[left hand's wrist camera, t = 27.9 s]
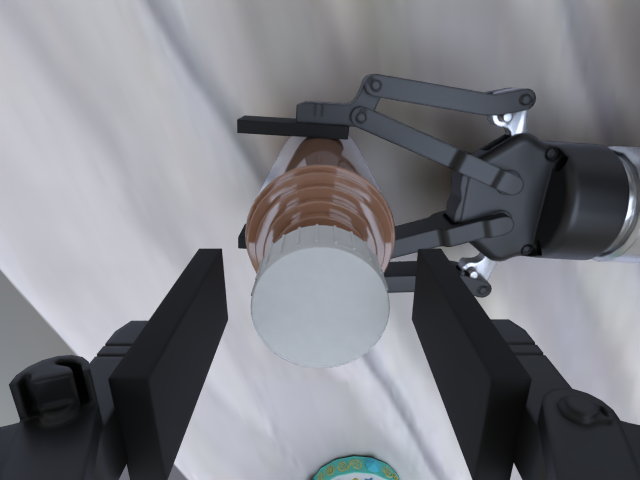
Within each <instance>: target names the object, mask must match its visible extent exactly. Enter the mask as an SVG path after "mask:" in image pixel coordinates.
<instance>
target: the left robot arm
mask: <svg viewBox="0 0 640 480" xmlns="http://www.w3.org/2000/svg"><path fill="white" fill-rule="evenodd" d="M227 321H228V312H227V301H226V290H225V279H224V268H223V257H222V249H199V250H198V251H197V253H196V254H195V255H194V257H193V258H192V260H191V261H190V263H189V264H188V265H187V267H186V268H185V270H184V271H183V273H182V274H181V275H180V277H179V278H178V280H177V281H176V283H175V284H174V285H173V287H172V288H171V290H170V291H169V293H168V294H167V295H166V297H165V298H164V300H163V301H162V303H161V304H160V305H159V307H158V308H157V310H156V311H155V313H154V314H153V315H152V317H151V318H150V320H149V321H130V322H129V323H127V324H126V325H124V326H123V327H121V328H120V329H118V330H117V331H115V332H114V334H113V335H112V336H111V337H110V339H109V340H108V341H107V342H106V344H105V346H103V347H102V349H101V350H100V351H99V352H98V354H97V357H94V359H93V360H92V361H91V362H90V364H89V362H88V361H87V360H86V359H84V358H83V357H79V356H74V355H66V356H57V357H53V358H49V359H45V360H42V361H40V362H38V363H36V364H34V365H31V366H29V367H27V368H26V369H25V370H23V371H22V372H20V373H19V374H17V375H16V376H15V378H14V379H13V380H12V381H11V383H10V384H9V387H10V390H11V393H12V396H13V399H14V402H15V405H16V408H17V411H18V414H19V417H20V422H19V423H16V424H12V425H8V426H3V427H0V480H119V478H120V476H121V474H122V472H123V470H124V468H125V466H126V464H127V467H128V472H129V477H130V480H168V477H169V474H170V472H171V469H172V466H173V464H174V461H175V458H176V456H177V453H178V451H179V448H180V445H181V443H182V440H183V437H184V435H185V432H186V429H187V427H188V424H189V421H190V419H191V416H192V414H193V411H194V408H195V406H196V403H197V400H198V398H199V395H200V392H201V390H202V387H203V384H204V382H205V379H206V376H207V374H208V371H209V369H210V366H211V363H212V361H213V358H214V355H215V353H216V350H217V347H218V345H219V342H220V339H221V337H222V334H223V331H224V329H225V326H226V324H227ZM412 321H413V324H414V326H415V329H416V331H417V334H418V337H419V339H420V342H421V345H422V347H423V350H424V353H425V355H426V358H427V361H428V363H429V366H430V369H431V371H432V374H433V376H434V379H435V382H436V384H437V387H438V390H439V392H440V395H441V398H442V400H443V403H444V406H445V408H446V411H447V414H448V416H449V419H450V421H451V424H452V427H453V429H454V432H455V435H456V437H457V440H458V443H459V445H460V448H461V451H462V453H463V456H464V458H465V461H466V464H467V466H468V469H469V472H470V474H471V477H472V480H510V477H511V472H512V468H513V463H514V464H515V466H516V468H517V470H518V472H519V474H520V476H521V478H522V480H640V425H636V424H631V423H627V422H624V421H620V419H619V418H618V416H617V415H616V413H615V412H614V411H613V409H611V408H610V407H609V406H608V405H606V404H605V403H604V402H603V401H601V400H600V399H598V398H596V397H594V396H592V395H590V394H588V393H585V392H581V391H578V390H575V389H572V388H571V387H570V385H569V384H568V383H567V382H566V380H565V379H564V378H563V377H562V375H561V374H560V373H559V372H558V370H557V369H556V368H555V367H554V365H553V364H552V363H551V362H550V361H549V359H548V358H547V357H546V356H545V355H543V352H542V351H541V349H540V348H539V347H538V346H537V345H535V342H534V341H533V339H532V338H531V337H530V336H529V335H528V333H527V332H526V331H525V330H524V329H522V328H521V327H519V326H518V325H516V324H515V323H513V322H512V321H510V320H490V318H489V317H488V315H487V314H486V313H485V311H484V310H483V308H482V307H481V305H480V304H479V303H478V301H477V300H476V298H475V297H474V295H473V294H472V293H471V291H470V290H469V288H468V287H467V285H466V284H465V283H464V281H463V280H462V278H461V277H460V275H459V274H458V273H457V271H456V270H455V268H454V267H453V265H452V264H451V263H450V261H449V260H448V258H447V257H446V255H445V254H444V253H443V251H442V250H441V249H418V257H417V268H416V279H415V290H414V301H413V312H412Z"/></svg>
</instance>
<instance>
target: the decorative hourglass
mask: <svg viewBox="0 0 640 480" xmlns="http://www.w3.org/2000/svg"><path fill="white" fill-rule="evenodd" d="M312 480H399V476H398V475H397V474H396V472H395V471H394V470H393V469H392V468H391V467H390V466H389V465H388V464H385V463H383V462H381V461H378V460H376V459H374V458H369V457H358V456H352V457H347V458H342V459H337V460H334V461H333V462H331V463H329V464H327V465H326V466H324V467H322V468H321V469H320V470H319V471H318V473H317V474H316V475H315V477H314V478H313V479H312Z"/></svg>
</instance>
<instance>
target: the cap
mask: <svg viewBox="0 0 640 480" xmlns="http://www.w3.org/2000/svg"><path fill="white" fill-rule="evenodd" d="M387 290H388V286H387V283H386V280H385V277H384V274H383V270H382V268H381V267H380V264H379V261H378V258H377V255H376V253H375V254H374V253H373V252H372V250H371V249H370V248H369V246H368V245H367V242H366V241H363V240H361V239H360V238H359V237H357V236H356V235H354V234H353V232H352V231H350V232H349V231H346V230H344V229H341V228H338V227H336V226H335V225H334V226H327V225H318V224H316V225H314V226H307V227H303V228H301V227H298V229H297V230H294V231H292V232H290V233H288V234H286V235H285V234H284V235H282V238H280V239H279V240H278V241H277V242H276V243H275V244H274V245H273V246H272V245H271V246H270V248H269V251H268V252H267V254H266V256H265V258H264V259H262V260H261V263H260V266H259V269H258V272H257V275H256V279H255V284H254V287H253V290H252V293H251V296H252V300H251V315H252V320H253V323H254V326H255V329H256V331H257V333H258V335H259V337H260V338H261V339H262V341H263V342H264V343H265V344H266V346H267V347H268V348H269V349H270V350H272V351H273V352H274V353H275V354H277V355H278V356H280V357H281V358H283V359H285V360H287V361H289V362H291V363H294V364H297V365H300V366H304V367H311V368H330V367H336V366H340V365H344V364H347V363H349V362H351V361H354V360H356V359H358V358H359V357H361V356H363V355H364V354H365V353H366V352H368V351H369V350H370V349H371V348H372V347H373V346H374V345H375V344H376V343H377V341H378V340H379V339H380V337H381V335H382V334H383V332H384V330H385V327H386V325H387V322H388V318H389V310H390V306H389V297H388V292H387Z"/></svg>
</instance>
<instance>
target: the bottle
mask: <svg viewBox="0 0 640 480" xmlns="http://www.w3.org/2000/svg"><path fill="white" fill-rule="evenodd" d="M316 224H318V225H327V226H334V225H335V226H336V227H338V228H341V229H344V230H346V231H349V232H350V231H352V232H353V234H354V235H356V236H357V237H359V238H360V239H361V240H363V241H366V242H367V245H368V246H369V248H370V249H371V250H372V252H373V253H374V254H375V253H376V255H377V258H378V261H379V264H380V267H381V268H382V270H383V274H384V272H385V270H386V268H387V266H388V263H389V261H390V259H391V256H392V253H393V248H394V244H395V226H394V221H393V216H392V213H391V211H390V208H389V206H388V204H387V202H386V200H385V198H384V196H383V195H382V193H381V191H380V189H379V187H378V185H377V183H376V181H375V179H374V177H373V176H372V174H371V172H370V170H369V168H368V166H367V164H366V162H365V160H364V158H363V157H362V155H361V153H360V151H359V149H358V147H357V145H356V144H355V142H354V141H353V140H352V138H351V137H350V136H349V135H348V140H344V139H328V138H312V137H296V136H291V137H290V138H289V139H288V140H287V141H286V143H285V144H284V146H283V148H282V150H281V152H280V153H279V155H278V157H277V159H276V161H275V163H274V165H273V167H272V169H271V171H270V172H269V174H268V176H267V178H266V180H265V182H264V184H263V186H262V188H261V190H260V192H259V193H258V195H257V197H256V199H255V201H254V203H253V205H252V207H251V209H250V212H249V215H248V218H247V223H246V231H245V238H246V247H247V251H248V255H249V257H250V260H251V262H252V265H253V267H254V269H255V271H256V273H257V272H258V269H259V266H260V263H261V260H262V259H264V258H265V256H266V254H267V252H268V251H269V248H270V246H271V245H272V246H273V245H274V244H275V243H276V242H277V241H278V240H279V239H280V238H282V235H284V234H285V235H286V234H288V233H290V232H292V231H294V230H297V229H298V227H301V228H303V227H307V226H314V225H316Z"/></svg>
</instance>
